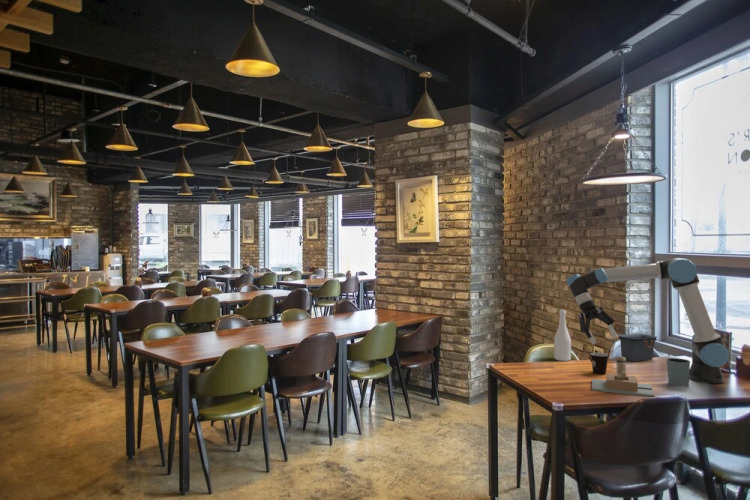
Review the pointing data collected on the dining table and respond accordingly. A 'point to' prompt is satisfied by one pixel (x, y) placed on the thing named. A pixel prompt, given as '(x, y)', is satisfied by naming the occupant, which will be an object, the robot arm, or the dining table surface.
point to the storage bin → (637, 346)
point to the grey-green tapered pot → (678, 371)
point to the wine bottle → (562, 340)
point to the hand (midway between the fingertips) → (605, 340)
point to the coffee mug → (599, 362)
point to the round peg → (621, 368)
